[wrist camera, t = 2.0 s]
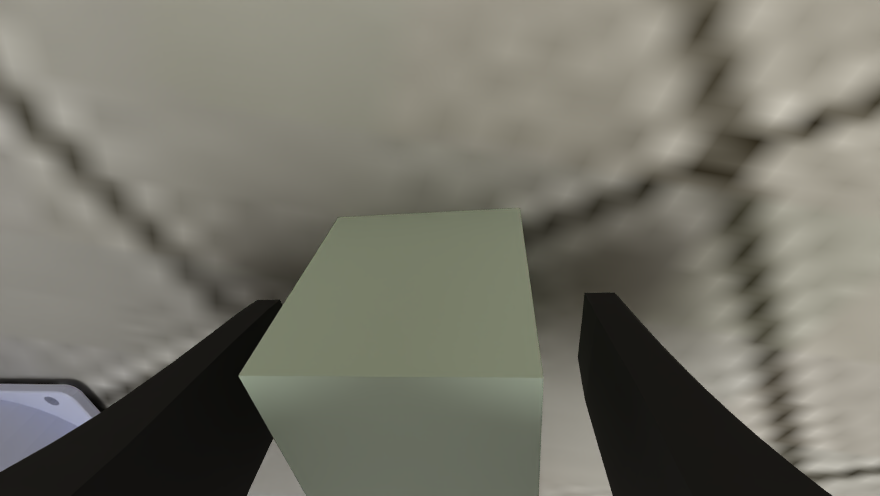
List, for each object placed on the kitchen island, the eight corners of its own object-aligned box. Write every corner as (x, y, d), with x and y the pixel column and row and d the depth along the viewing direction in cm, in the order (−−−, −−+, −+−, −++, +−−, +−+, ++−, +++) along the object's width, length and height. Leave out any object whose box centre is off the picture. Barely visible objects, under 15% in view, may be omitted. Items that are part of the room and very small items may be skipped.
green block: (374, 342, 13) (319, 518, 9) (339, 216, 10) (238, 375, 6) (519, 341, 12) (537, 530, 8) (519, 206, 10) (543, 378, 5)
